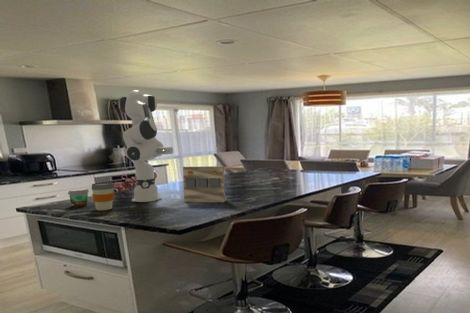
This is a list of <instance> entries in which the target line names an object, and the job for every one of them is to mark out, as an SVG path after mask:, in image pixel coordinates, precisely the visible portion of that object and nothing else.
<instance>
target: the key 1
mask: <svg viewBox="0 0 470 313" xmlns="http://www.w3.org/2000/svg"><path fill="white" fill-rule="evenodd" d="M186 187H196V178H187V179H186Z"/></svg>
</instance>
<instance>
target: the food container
mask: <svg viewBox="0 0 470 313" xmlns="http://www.w3.org/2000/svg"><path fill="white" fill-rule="evenodd" d="M89 192H90V191H89V188H86V189H84V190H83V189H82V190H81V189H80V190H79V189H78V190H68V192H67V195H68V196H69V200H70V206H71V207H72V206H74V207H73V208H78V207H77V206H80V207H86V206H87V205H88V198H89V196H88V195H89ZM85 205H86V206H85Z"/></svg>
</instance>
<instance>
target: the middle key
mask: <svg viewBox="0 0 470 313" xmlns="http://www.w3.org/2000/svg"><path fill="white" fill-rule="evenodd" d="M197 187H208V178H199V179H197Z"/></svg>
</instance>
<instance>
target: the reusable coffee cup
mask: <svg viewBox="0 0 470 313" xmlns="http://www.w3.org/2000/svg"><path fill="white" fill-rule="evenodd" d="M114 189H115V184H114V182H112V181H110V182H109V181H104V182H96V183H92V184H91V190H92V191H91V192H92V198H93V202H94V205H95V210H96V211H107V210H111V209H113V201H114V196H115V191H114Z"/></svg>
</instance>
